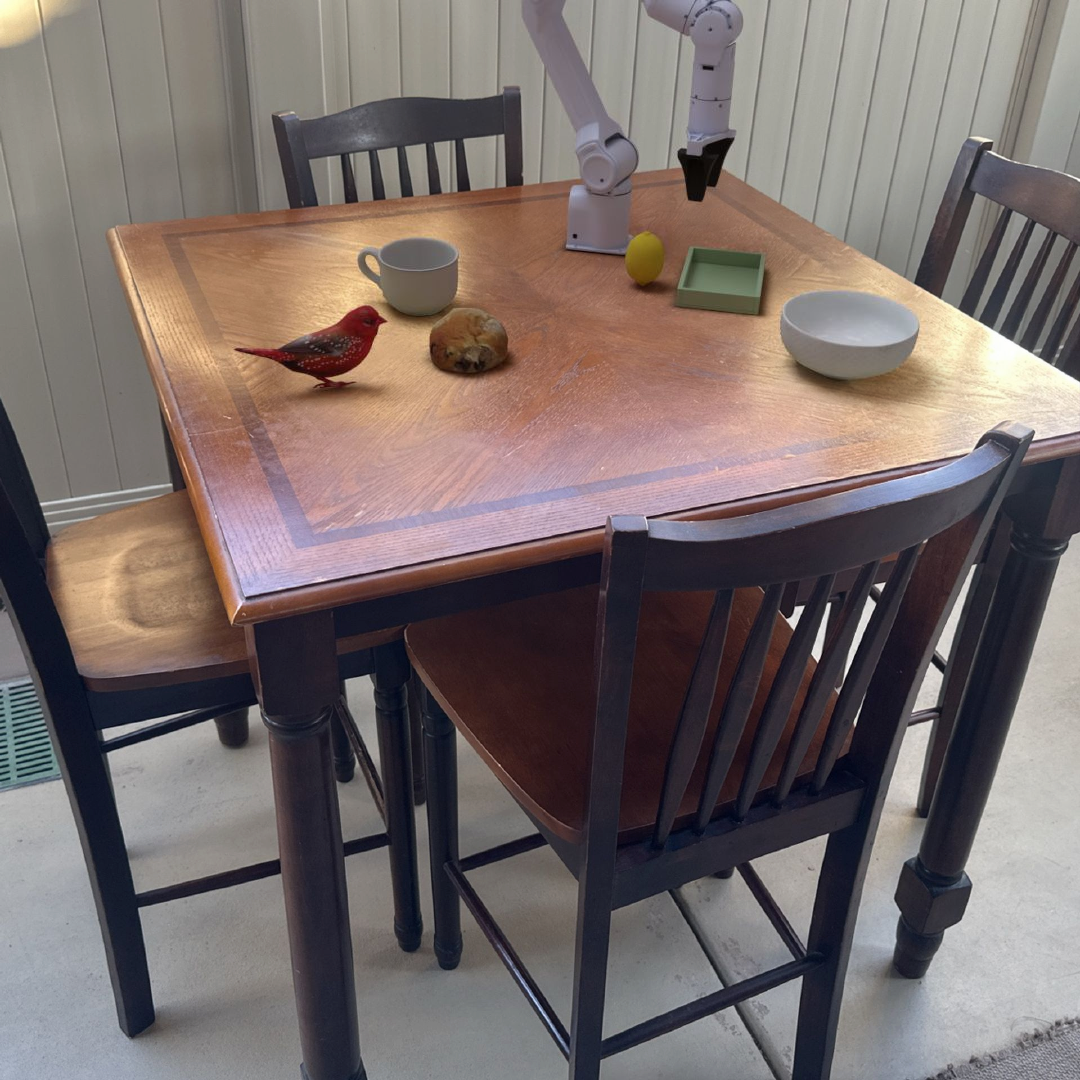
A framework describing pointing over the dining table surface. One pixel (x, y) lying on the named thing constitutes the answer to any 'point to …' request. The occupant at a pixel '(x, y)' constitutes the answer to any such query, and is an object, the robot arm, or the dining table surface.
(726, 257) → the tray
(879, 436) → the dining table surface
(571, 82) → the robot arm
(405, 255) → the teacup
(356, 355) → the decorative bird figurine
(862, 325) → the cereal bowl
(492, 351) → the bread roll
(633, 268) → the lemon
